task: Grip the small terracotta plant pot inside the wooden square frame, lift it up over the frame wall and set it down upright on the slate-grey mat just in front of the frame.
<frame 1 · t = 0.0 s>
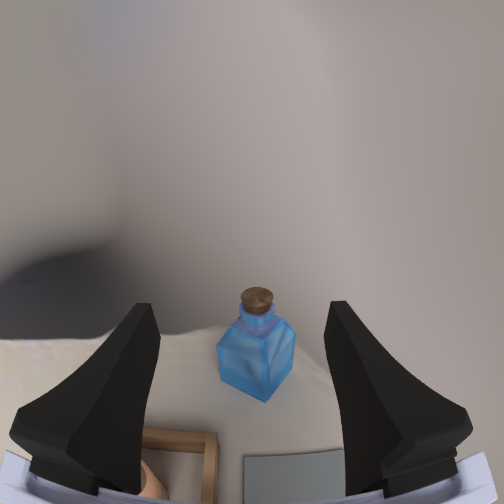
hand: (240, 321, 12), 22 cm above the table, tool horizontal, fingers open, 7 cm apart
terracotta pot: (133, 488, 19), in the wooden square frame
wooden square frame: (143, 497, 21), on the table
perfume bottle: (257, 375, 36), on the table
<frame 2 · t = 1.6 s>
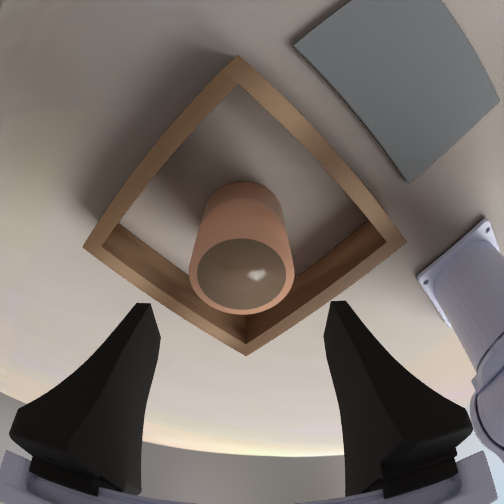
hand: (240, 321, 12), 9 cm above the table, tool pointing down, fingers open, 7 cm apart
slate mat: (413, 69, 14), on the table
terracotta pot: (242, 243, 17), in the wooden square frame
wooden square frame: (243, 218, 20), on the table
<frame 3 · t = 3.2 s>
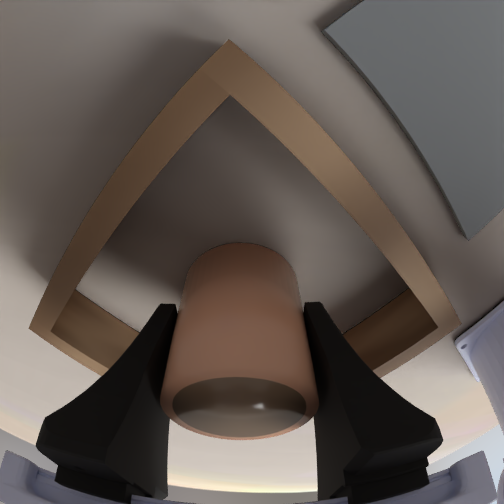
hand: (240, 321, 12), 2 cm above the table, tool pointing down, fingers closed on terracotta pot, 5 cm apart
slate mat: (488, 81, 8), on the table
terracotta pot: (240, 342, 11), in the wooden square frame, touching gripper
wooden square frame: (241, 291, 14), on the table
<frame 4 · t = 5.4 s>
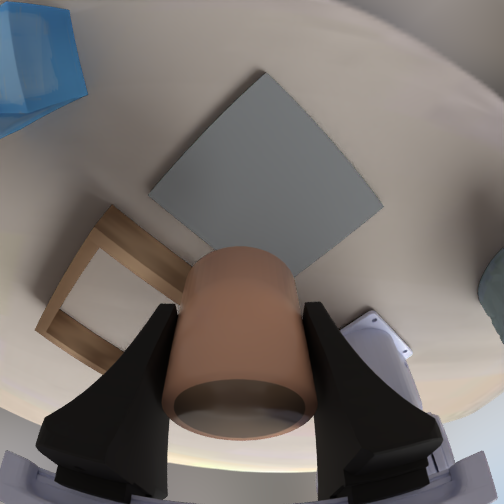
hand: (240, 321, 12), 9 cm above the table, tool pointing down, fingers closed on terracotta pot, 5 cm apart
slate mat: (269, 195, 19), on the table
terracotta pot: (239, 344, 11), point 10 cm above the table, touching gripper
wooden square frame: (140, 314, 24), on the table
perfume bottle: (41, 71, 14), on the table
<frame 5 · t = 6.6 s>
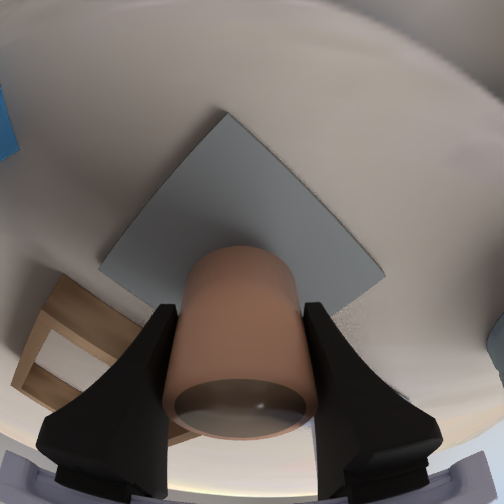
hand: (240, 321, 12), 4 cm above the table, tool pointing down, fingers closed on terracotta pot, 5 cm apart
slate mat: (241, 268, 15), on the table
terracotta pot: (240, 344, 11), point 5 cm above the table, touching gripper
wooden square frame: (113, 376, 21), on the table
when the fingers open (3 cm above the table, at t = 7.6 s): terracotta pot stays where it is, resting on slate mat.
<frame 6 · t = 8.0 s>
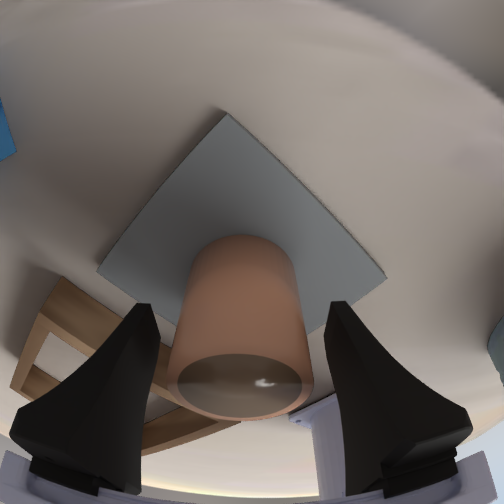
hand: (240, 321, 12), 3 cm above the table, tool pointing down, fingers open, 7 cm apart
slate mat: (241, 270, 15), on the table
terracotta pot: (241, 327, 12), on the slate mat
wooden square frame: (112, 378, 21), on the table
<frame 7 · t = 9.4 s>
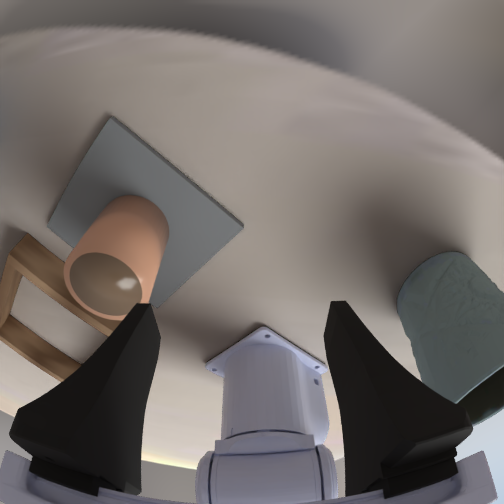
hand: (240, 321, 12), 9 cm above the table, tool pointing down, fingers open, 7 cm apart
slate mat: (135, 222, 20), on the table
terracotta pot: (120, 254, 17), on the slate mat
wooden square frame: (65, 321, 26), on the table
green pot: (435, 287, 24), on the table
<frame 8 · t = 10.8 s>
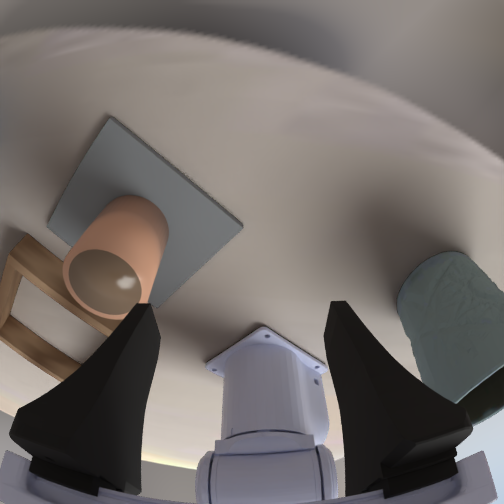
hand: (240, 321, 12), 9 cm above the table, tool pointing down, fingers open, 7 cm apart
slate mat: (134, 223, 20), on the table
terracotta pot: (119, 253, 17), on the slate mat
wooden square frame: (65, 321, 26), on the table
green pot: (435, 287, 24), on the table
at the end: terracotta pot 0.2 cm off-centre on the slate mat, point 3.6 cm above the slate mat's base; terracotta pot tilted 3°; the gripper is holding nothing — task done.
